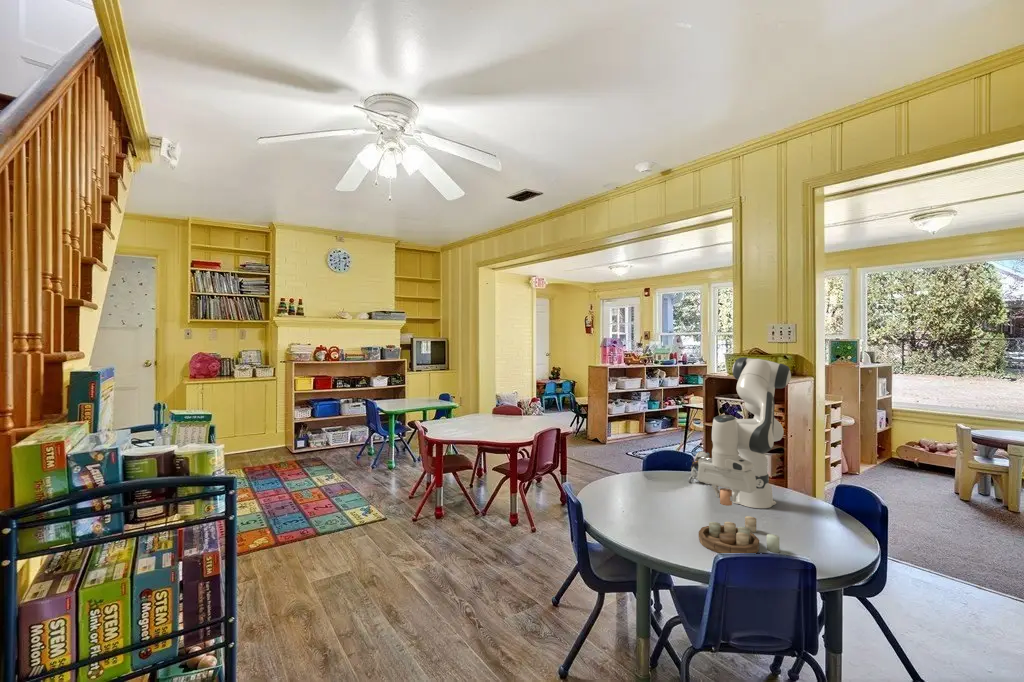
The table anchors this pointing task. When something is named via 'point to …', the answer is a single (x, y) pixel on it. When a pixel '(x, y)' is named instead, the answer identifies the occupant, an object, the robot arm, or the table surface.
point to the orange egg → (725, 496)
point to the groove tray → (728, 538)
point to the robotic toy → (695, 465)
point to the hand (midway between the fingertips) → (725, 499)
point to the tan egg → (750, 524)
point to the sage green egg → (773, 543)
